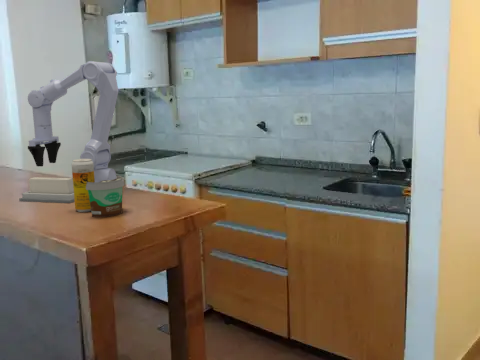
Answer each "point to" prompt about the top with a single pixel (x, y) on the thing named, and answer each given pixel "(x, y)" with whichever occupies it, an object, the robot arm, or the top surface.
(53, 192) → the long cream rectangular block
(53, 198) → the stepped grey tray
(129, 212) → the top surface
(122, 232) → the top surface
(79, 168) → the beer can
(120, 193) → the food container
